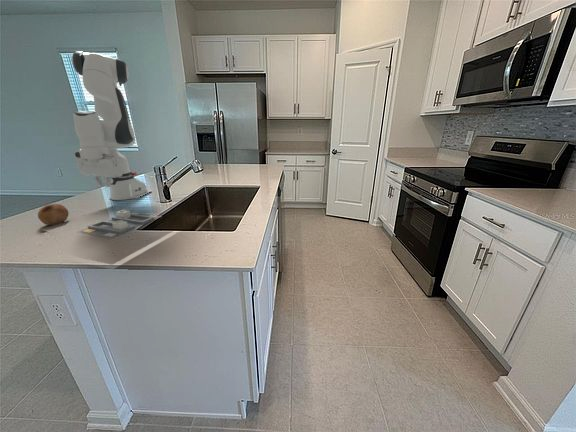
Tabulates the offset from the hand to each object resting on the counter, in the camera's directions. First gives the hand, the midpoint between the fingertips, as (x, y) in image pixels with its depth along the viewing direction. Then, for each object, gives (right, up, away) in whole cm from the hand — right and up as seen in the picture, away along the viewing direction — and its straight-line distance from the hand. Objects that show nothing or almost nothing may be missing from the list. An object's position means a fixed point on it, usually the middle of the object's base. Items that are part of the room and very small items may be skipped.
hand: (104, 186), depth 104 cm
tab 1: (+7, -14, +3) cm, 16 cm away
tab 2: (+13, -18, -9) cm, 24 cm away
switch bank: (+10, -17, -2) cm, 20 cm away
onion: (-20, -16, -1) cm, 26 cm away
